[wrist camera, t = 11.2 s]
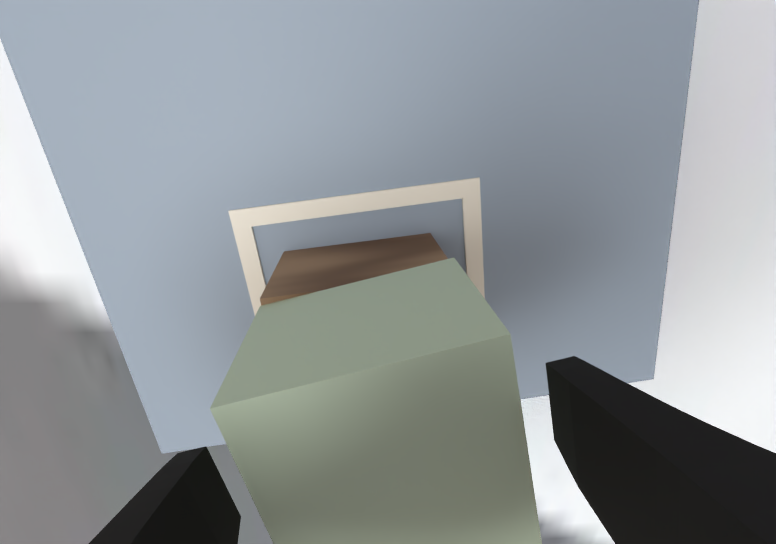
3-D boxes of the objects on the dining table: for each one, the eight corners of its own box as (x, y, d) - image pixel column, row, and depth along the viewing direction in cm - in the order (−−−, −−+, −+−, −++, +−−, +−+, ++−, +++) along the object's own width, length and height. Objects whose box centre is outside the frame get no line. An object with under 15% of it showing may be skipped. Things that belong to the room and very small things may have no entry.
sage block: (454, 257, 11) (510, 334, 7) (484, 415, 12) (542, 545, 9) (260, 305, 11) (210, 408, 7) (317, 456, 12) (302, 604, 9)
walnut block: (430, 232, 14) (457, 273, 11) (439, 358, 16) (466, 431, 12) (283, 251, 14) (259, 298, 11) (309, 376, 16) (296, 455, 12)
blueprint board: (693, -175, 12) (726, -203, 11) (638, 365, 18) (655, 380, 17) (-27, -99, 11) (-66, -121, 10) (172, 435, 18) (160, 455, 17)
